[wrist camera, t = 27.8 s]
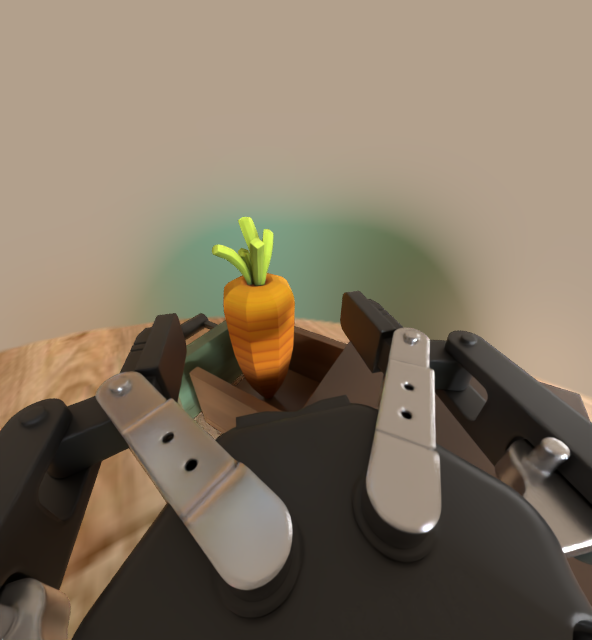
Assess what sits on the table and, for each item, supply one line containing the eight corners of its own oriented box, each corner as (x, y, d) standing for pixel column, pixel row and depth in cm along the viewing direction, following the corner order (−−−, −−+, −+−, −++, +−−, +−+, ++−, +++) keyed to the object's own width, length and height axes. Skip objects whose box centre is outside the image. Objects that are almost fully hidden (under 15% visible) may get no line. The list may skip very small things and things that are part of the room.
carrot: (290, 425, 20) (284, 234, 12) (232, 416, 21) (187, 230, 13) (300, 379, 24) (300, 213, 16) (250, 373, 25) (226, 211, 17)
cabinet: (285, 507, 17) (280, 438, 13) (349, 392, 26) (359, 326, 21) (539, 693, 11) (694, 685, 7) (516, 464, 20) (580, 393, 15)
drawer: (142, 390, 25) (116, 339, 22) (219, 335, 32) (210, 291, 29) (302, 501, 17) (302, 448, 13) (357, 394, 24) (367, 342, 21)
